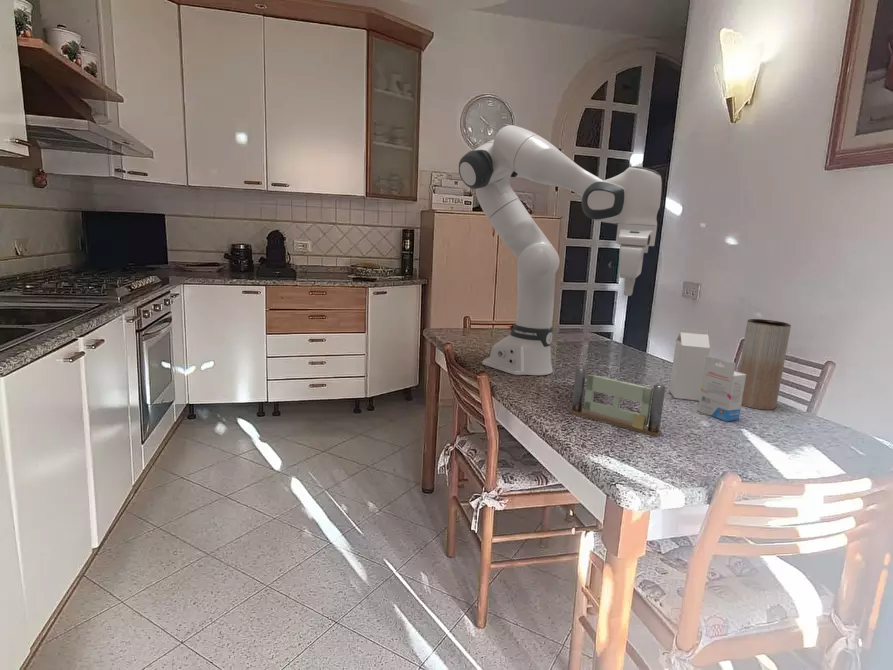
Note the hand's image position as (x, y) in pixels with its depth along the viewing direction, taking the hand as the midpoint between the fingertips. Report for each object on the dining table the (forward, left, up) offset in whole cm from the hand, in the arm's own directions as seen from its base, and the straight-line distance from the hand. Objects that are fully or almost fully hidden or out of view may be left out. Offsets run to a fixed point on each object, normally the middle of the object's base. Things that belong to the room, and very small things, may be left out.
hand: (627, 295), depth 132 cm
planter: (+26, +34, -29) cm, 52 cm away
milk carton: (+10, +26, -29) cm, 40 cm away
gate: (+4, -11, -27) cm, 30 cm away
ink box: (+21, +15, -29) cm, 39 cm away
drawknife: (+4, -11, -29) cm, 31 cm away
